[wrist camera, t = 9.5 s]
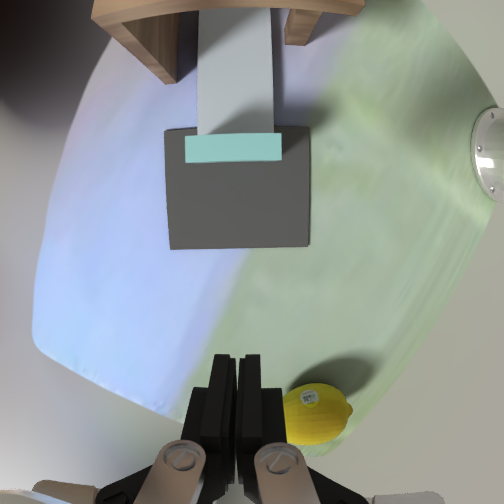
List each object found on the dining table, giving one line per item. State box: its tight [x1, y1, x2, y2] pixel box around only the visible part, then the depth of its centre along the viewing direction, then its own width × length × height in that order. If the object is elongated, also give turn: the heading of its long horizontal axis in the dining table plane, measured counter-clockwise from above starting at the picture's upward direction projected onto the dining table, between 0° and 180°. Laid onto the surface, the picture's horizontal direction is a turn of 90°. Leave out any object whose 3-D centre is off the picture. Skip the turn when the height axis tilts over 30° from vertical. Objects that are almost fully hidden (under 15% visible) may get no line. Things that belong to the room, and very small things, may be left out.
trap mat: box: [164, 126, 309, 250], centre depth 29 cm, size 14×12×1 cm
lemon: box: [283, 383, 353, 445], centre depth 33 cm, size 11×8×8 cm
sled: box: [185, 7, 282, 163], centre depth 22 cm, size 8×22×7 cm, turn 1°
